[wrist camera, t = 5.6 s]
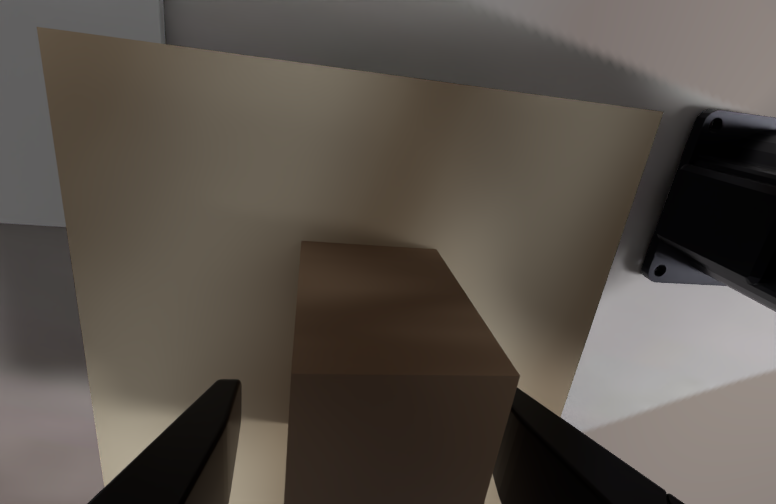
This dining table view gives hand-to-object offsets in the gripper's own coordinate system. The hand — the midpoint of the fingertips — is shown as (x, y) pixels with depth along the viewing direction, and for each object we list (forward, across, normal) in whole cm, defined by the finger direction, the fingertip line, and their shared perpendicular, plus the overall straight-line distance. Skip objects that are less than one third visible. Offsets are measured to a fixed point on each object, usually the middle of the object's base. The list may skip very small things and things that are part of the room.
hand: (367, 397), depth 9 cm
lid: (+3, 0, 0) cm, 3 cm away
